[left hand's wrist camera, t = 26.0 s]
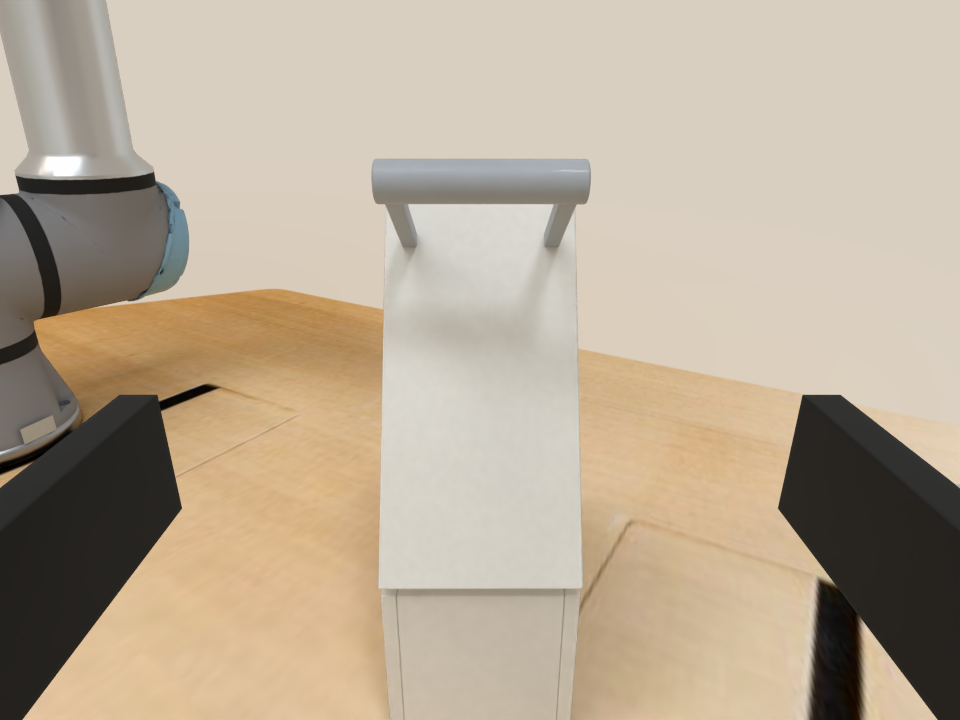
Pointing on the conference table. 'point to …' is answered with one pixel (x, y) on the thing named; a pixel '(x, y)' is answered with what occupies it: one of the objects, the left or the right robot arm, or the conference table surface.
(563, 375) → the lid
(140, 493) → the left robot arm
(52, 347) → the conference table surface
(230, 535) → the conference table surface
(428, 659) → the chest
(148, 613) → the conference table surface
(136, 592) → the conference table surface
